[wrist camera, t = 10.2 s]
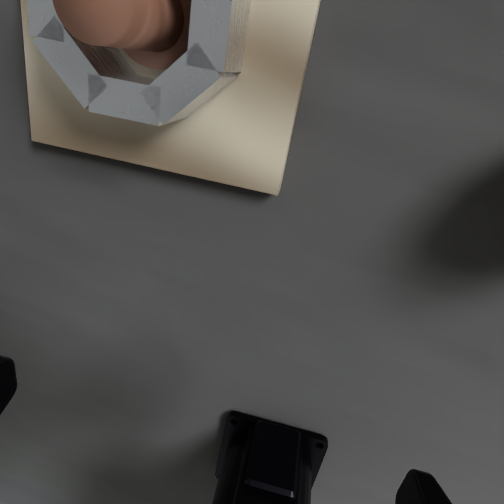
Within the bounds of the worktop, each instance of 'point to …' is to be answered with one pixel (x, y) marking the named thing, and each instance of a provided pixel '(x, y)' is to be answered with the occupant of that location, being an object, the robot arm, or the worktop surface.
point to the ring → (140, 87)
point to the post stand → (205, 118)
